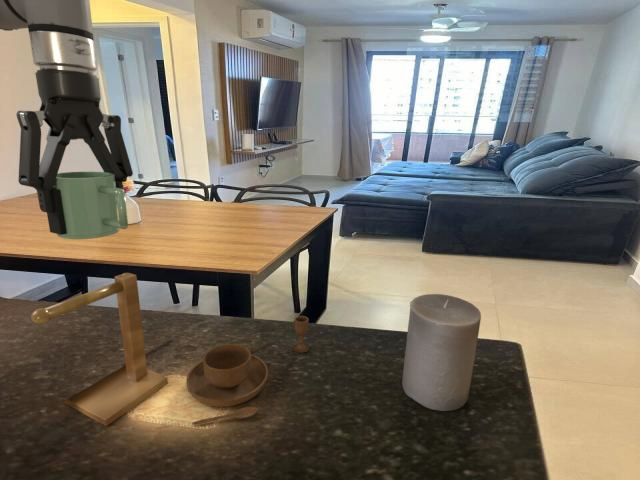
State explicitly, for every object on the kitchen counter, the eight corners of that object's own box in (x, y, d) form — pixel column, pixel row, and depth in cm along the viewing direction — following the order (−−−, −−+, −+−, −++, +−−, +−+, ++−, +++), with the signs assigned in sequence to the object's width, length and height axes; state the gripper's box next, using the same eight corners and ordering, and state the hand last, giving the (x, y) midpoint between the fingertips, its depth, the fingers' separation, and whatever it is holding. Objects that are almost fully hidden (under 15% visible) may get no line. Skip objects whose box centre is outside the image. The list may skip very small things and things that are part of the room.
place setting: (191, 355, 64) (188, 324, 63) (306, 342, 69) (307, 313, 68) (182, 432, 48) (178, 393, 47) (333, 408, 53) (335, 372, 51)
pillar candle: (458, 372, 62) (471, 287, 58) (476, 415, 53) (493, 318, 48) (397, 367, 63) (406, 283, 58) (405, 409, 53) (416, 313, 49)
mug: (44, 233, 58) (34, 174, 56) (97, 222, 66) (90, 170, 63) (101, 248, 53) (92, 183, 50) (151, 234, 60) (146, 177, 58)
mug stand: (19, 413, 50) (-8, 294, 46) (115, 360, 62) (101, 261, 58) (75, 448, 45) (51, 318, 41) (168, 382, 57) (157, 276, 53)
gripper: (-9, 56, 43) (27, 247, 49) (149, 80, 61) (160, 216, 68) (-42, 59, 46) (-4, 238, 52) (117, 81, 64) (131, 211, 71)
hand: (88, 226), depth 60 cm, fingers closed on mug, 9 cm apart
